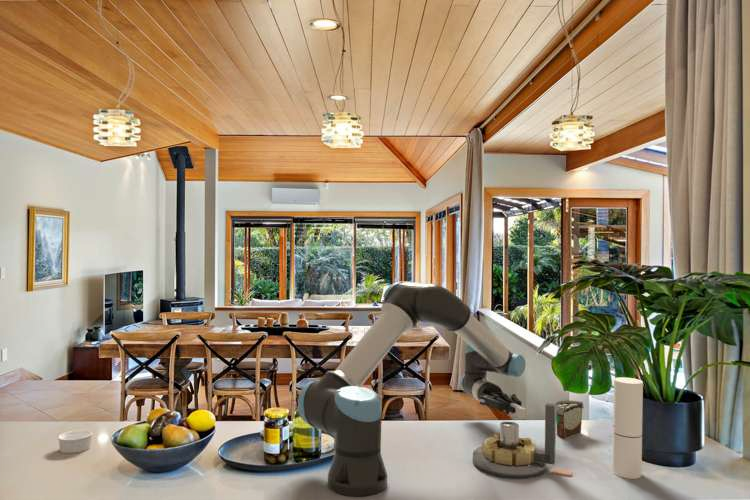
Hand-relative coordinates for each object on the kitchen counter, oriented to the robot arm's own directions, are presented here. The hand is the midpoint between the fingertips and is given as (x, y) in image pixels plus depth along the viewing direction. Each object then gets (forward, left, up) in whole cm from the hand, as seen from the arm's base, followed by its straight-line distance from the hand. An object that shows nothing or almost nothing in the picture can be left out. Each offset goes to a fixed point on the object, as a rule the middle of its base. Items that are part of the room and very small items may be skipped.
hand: (523, 413), depth 164 cm
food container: (+22, +13, -12) cm, 29 cm away
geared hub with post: (-6, -8, -9) cm, 13 cm away
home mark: (+3, -15, -12) cm, 19 cm away
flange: (-8, -6, -12) cm, 15 cm away
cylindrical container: (+20, -19, -12) cm, 30 cm away
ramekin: (-127, +33, -12) cm, 131 cm away
